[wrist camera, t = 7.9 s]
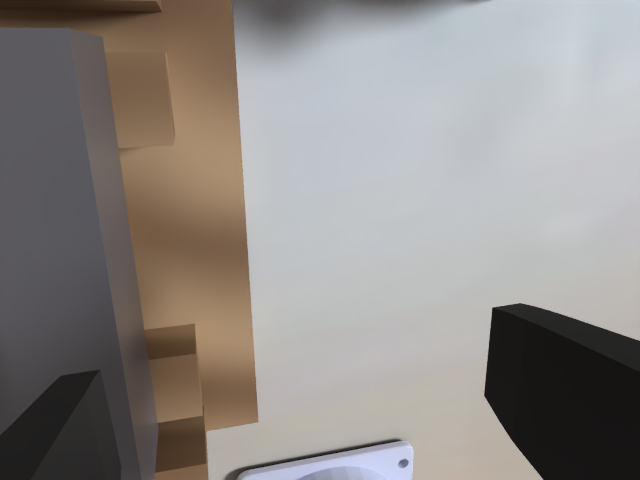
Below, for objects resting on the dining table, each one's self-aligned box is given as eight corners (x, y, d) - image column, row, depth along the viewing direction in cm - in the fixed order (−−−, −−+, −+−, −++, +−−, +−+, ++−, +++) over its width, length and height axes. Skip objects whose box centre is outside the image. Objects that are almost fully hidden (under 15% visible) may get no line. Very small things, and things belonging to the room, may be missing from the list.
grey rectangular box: (158, 428, 17) (150, 533, 13) (49, 447, 16) (8, 562, 12) (102, 37, 13) (67, 28, 9) (-48, 36, 12) (-153, 27, 8)
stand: (255, 406, 21) (269, 480, 17) (-16, 450, 19) (-66, 545, 15) (227, -28, 15) (239, -55, 12) (-160, -39, 13) (-294, -76, 10)
